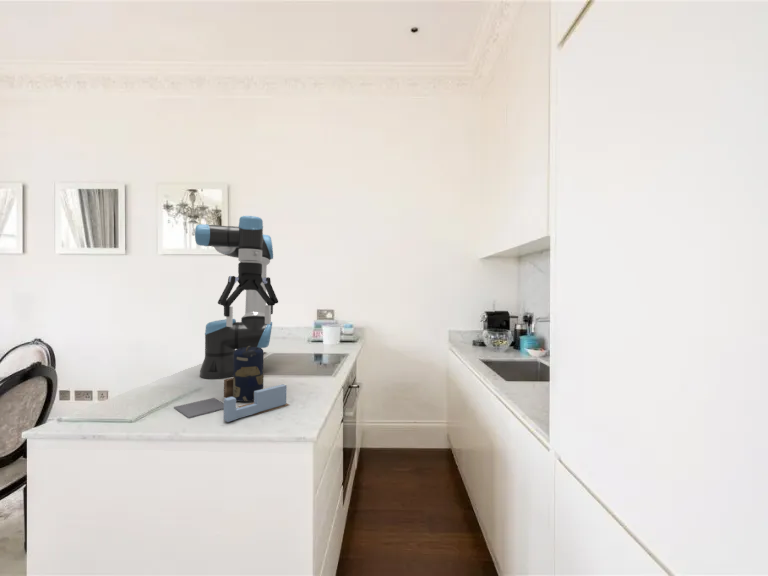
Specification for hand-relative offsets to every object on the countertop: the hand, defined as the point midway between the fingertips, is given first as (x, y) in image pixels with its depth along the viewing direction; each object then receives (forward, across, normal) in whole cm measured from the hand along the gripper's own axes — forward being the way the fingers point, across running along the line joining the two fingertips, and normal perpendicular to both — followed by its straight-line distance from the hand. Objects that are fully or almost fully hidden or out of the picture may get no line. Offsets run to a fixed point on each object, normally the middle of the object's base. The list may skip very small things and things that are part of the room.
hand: (249, 325), depth 115 cm
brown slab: (+25, 0, -4) cm, 25 cm away
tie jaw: (+25, -4, -14) cm, 29 cm away
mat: (+25, -14, +2) cm, 29 cm away
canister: (+25, 0, 0) cm, 25 cm away
